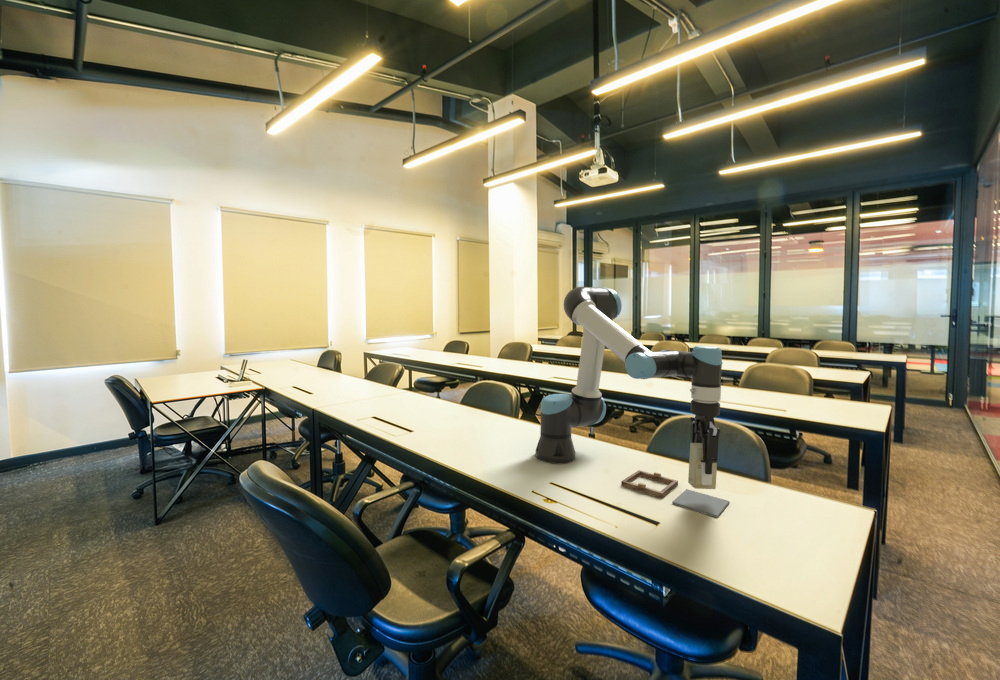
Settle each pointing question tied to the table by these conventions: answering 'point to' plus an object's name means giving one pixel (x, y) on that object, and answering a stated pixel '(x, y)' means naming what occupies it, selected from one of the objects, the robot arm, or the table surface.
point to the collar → (643, 487)
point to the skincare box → (699, 468)
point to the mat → (701, 503)
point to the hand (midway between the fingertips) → (702, 480)
